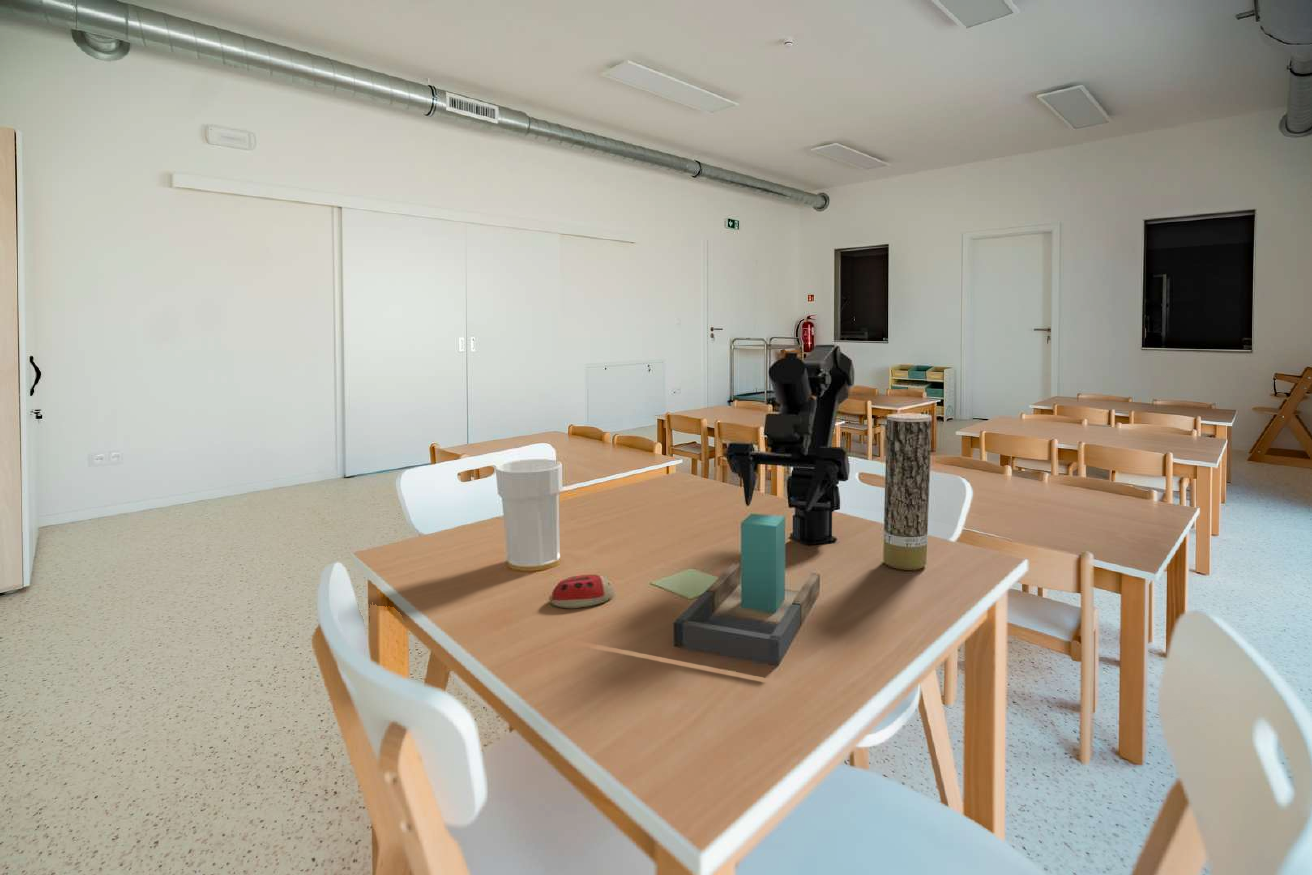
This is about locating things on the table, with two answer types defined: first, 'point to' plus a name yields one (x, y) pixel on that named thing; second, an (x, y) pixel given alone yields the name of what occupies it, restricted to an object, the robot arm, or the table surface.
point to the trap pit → (735, 633)
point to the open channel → (730, 604)
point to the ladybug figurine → (582, 591)
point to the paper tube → (907, 490)
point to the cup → (531, 512)
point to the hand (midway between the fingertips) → (776, 507)
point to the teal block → (763, 562)
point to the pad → (687, 583)
